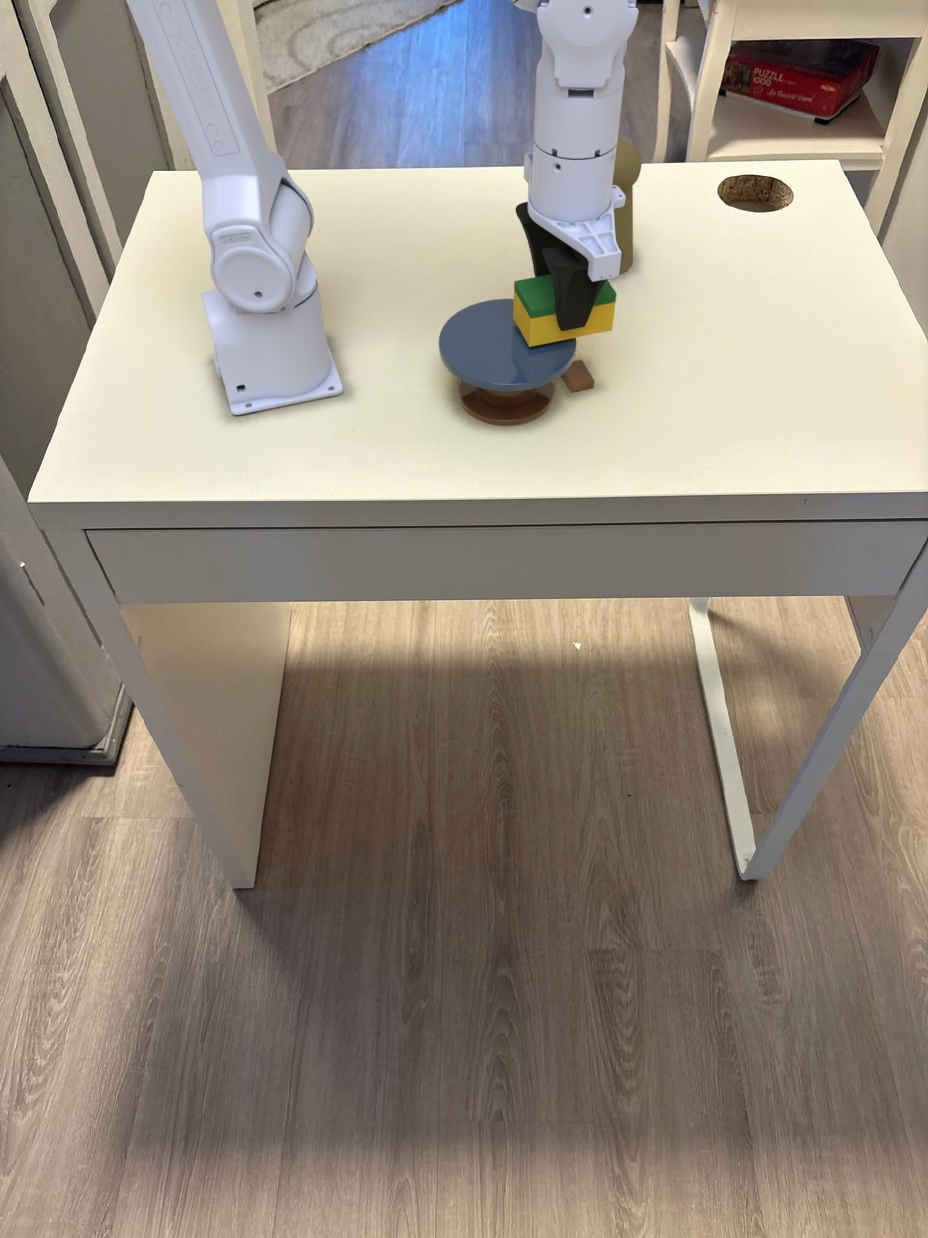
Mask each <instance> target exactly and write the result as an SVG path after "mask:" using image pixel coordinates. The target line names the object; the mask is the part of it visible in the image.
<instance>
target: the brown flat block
mask: <svg viewBox="0 0 928 1238" xmlns="http://www.w3.org/2000/svg"><path fill="white" fill-rule="evenodd" d="M561 377H562V378H563V380H564V382H565V384H566V385H567V387H568V389H569V391H570V392H571V393H572V394H573V393H578V392H583V391H586V390H587V391H588V390H592V389H594V388H595V379H594V378H593V376H592V374H591V373H590V371H589V369H588V367H587V366H586V364H585V363H584V360H583V359H578V360H573V362H572V364H571V365H570V367H569V368H568V369H567V370H566V372H565V373H563V374H562V375H561Z"/></svg>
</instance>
